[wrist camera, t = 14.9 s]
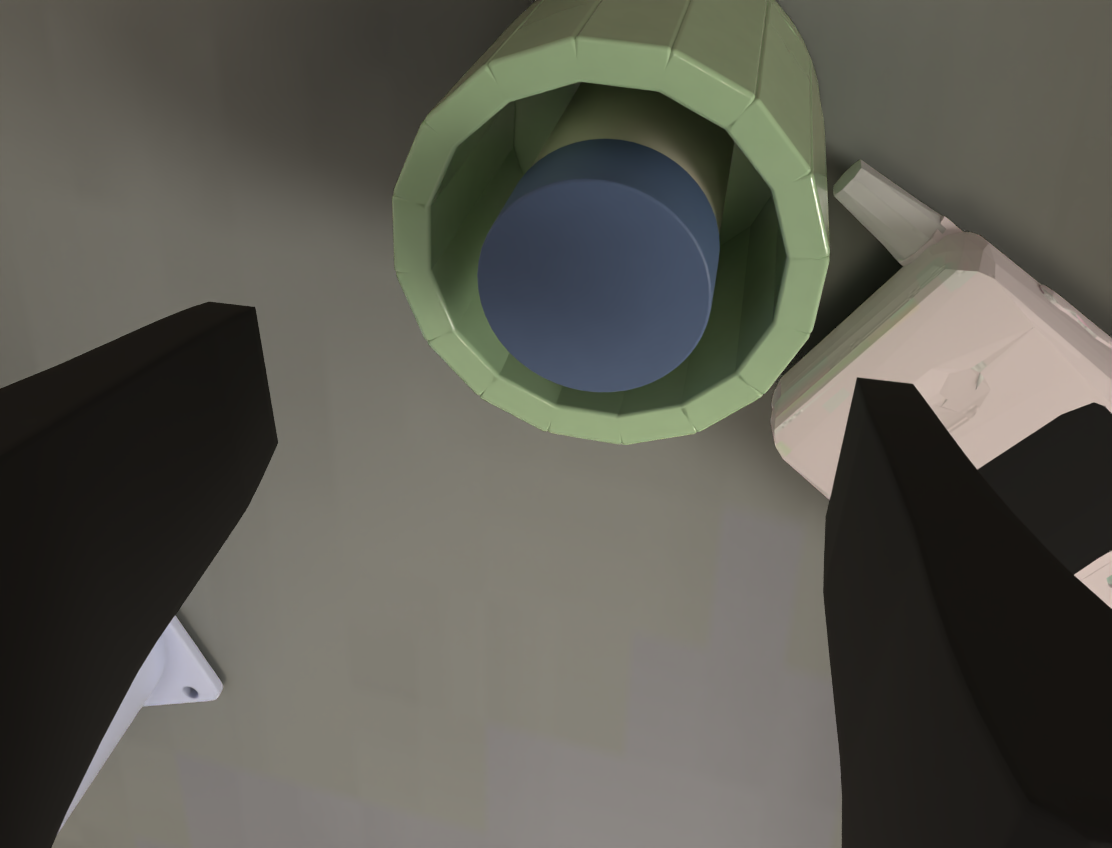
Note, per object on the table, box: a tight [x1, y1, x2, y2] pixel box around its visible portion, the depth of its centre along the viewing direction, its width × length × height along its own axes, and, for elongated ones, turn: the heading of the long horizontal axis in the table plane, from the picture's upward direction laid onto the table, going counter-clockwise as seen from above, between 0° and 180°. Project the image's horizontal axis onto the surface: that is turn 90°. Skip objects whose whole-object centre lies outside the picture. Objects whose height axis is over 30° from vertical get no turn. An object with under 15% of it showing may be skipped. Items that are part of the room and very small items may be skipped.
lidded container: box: [477, 82, 734, 392], centre depth 17 cm, size 3×3×7 cm
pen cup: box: [392, 0, 830, 445], centre depth 18 cm, size 6×6×6 cm
